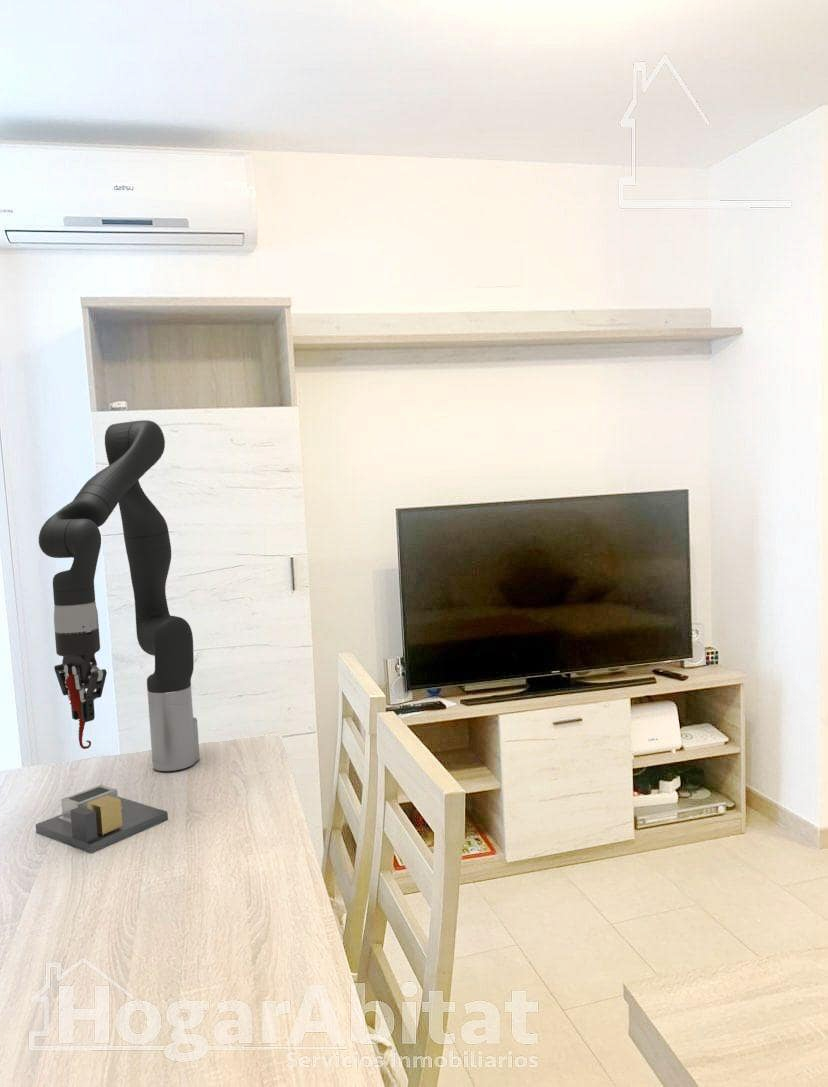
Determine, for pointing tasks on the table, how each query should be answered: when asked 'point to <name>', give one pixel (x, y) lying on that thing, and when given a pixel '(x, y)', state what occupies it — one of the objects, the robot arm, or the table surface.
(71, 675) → the toy
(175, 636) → the robot arm
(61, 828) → the press frame
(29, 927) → the table surface
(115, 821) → the slider
